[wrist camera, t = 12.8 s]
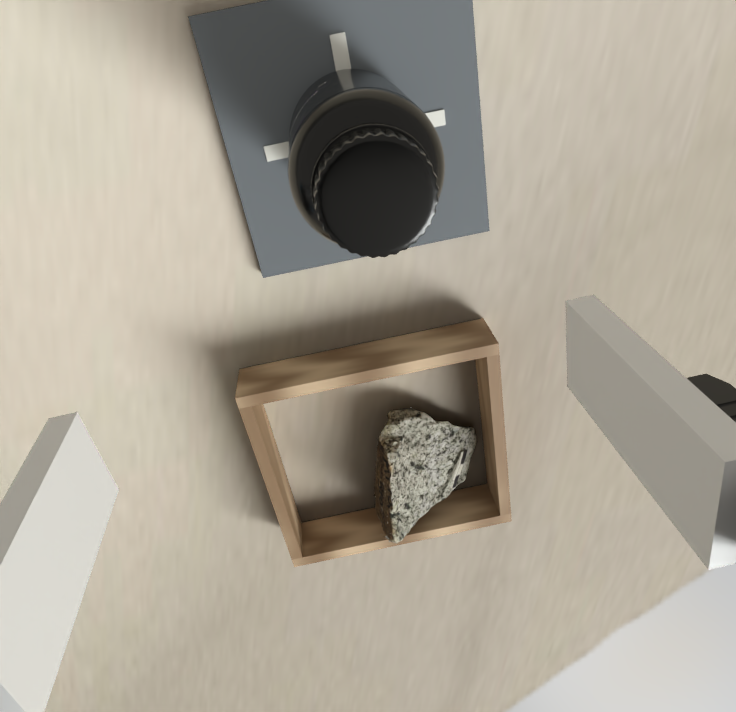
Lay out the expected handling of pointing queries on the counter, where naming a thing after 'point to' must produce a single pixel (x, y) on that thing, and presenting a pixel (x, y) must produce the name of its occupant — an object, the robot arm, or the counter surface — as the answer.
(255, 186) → the rest mat
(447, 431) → the rock sample
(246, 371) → the tray
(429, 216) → the supplement bottle
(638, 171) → the counter surface
